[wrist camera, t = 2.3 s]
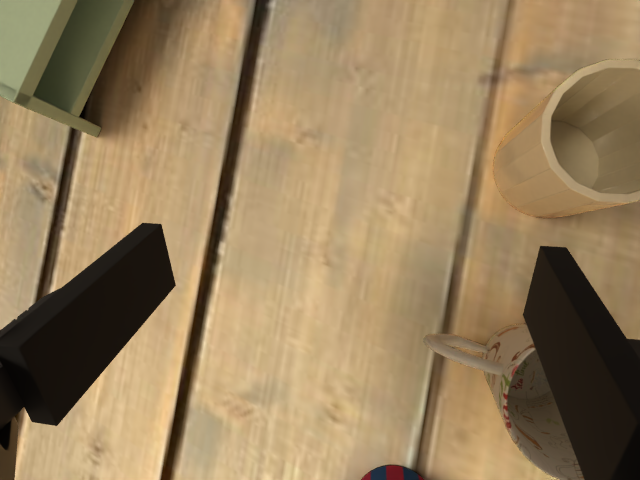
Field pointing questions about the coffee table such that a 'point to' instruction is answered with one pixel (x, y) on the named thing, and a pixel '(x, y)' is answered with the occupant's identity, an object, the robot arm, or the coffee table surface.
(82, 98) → the shelf
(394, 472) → the cup
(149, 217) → the coffee table surface
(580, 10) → the coffee table surface
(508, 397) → the mug
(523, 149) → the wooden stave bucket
